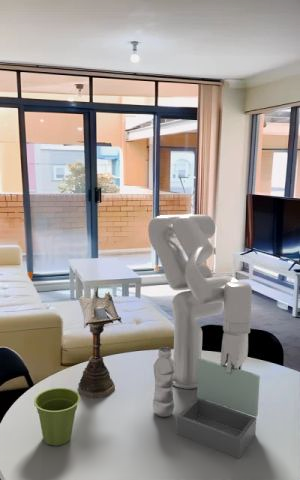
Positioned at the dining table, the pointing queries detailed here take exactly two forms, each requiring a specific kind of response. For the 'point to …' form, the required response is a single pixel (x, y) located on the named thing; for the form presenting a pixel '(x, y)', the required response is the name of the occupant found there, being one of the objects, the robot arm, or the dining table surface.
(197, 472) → the dining table surface
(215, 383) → the cover
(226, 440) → the grey open box
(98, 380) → the ornate pedestal stand
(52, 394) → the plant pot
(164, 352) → the plastic bottle
